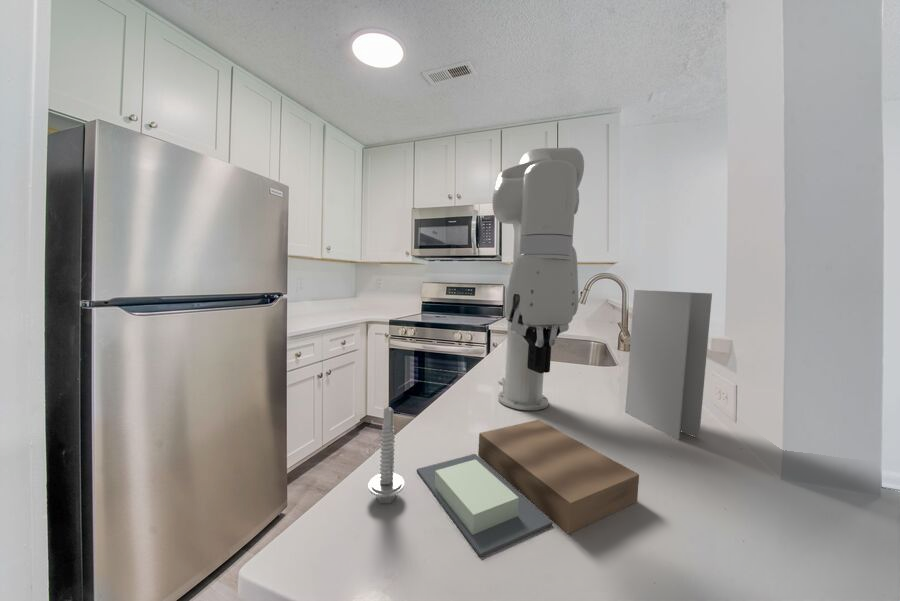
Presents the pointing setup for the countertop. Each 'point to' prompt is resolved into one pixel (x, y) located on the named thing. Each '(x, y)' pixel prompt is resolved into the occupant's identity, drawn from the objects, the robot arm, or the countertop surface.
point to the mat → (499, 534)
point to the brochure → (668, 359)
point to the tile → (476, 495)
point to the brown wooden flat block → (559, 473)
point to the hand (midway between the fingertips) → (538, 370)
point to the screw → (387, 465)
